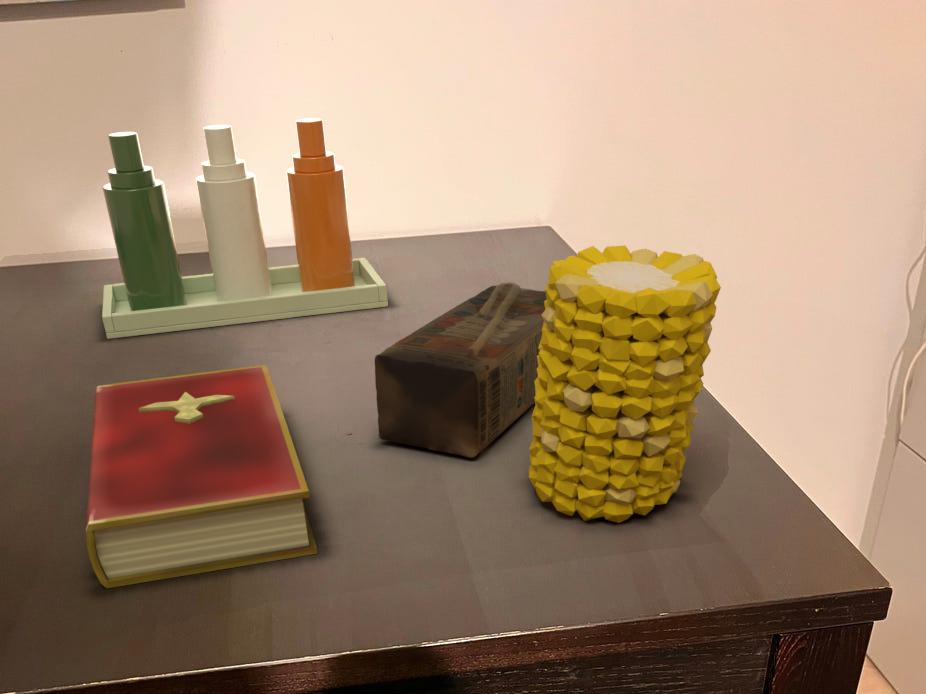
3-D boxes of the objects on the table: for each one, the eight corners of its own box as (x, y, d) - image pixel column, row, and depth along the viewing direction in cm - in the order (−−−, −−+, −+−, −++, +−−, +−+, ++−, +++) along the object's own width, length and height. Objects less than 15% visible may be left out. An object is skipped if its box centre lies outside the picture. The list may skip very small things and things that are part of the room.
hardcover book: (98, 589, 55) (78, 521, 52) (104, 439, 72) (90, 382, 69) (317, 553, 57) (308, 486, 55) (274, 416, 74) (266, 360, 72)
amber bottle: (291, 292, 98) (268, 121, 90) (333, 280, 101) (315, 113, 93) (323, 302, 95) (302, 126, 87) (366, 290, 98) (350, 118, 90)
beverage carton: (581, 368, 80) (583, 283, 77) (479, 465, 66) (475, 368, 63) (490, 356, 83) (488, 274, 79) (374, 447, 69) (364, 352, 65)
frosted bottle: (207, 301, 97) (175, 128, 88) (253, 289, 100) (226, 120, 91) (237, 312, 94) (207, 133, 85) (283, 299, 96) (259, 125, 88)
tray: (107, 339, 90) (101, 316, 89) (108, 305, 98) (103, 284, 97) (388, 306, 95) (386, 285, 94) (366, 277, 104) (365, 257, 103)
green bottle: (121, 311, 95) (80, 135, 86) (170, 298, 98) (135, 127, 89) (148, 322, 92) (109, 141, 83) (198, 309, 95) (165, 132, 86)
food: (574, 471, 69) (706, 518, 64) (467, 499, 60) (611, 557, 55) (622, 233, 62) (773, 265, 57) (510, 226, 53) (677, 263, 48)
